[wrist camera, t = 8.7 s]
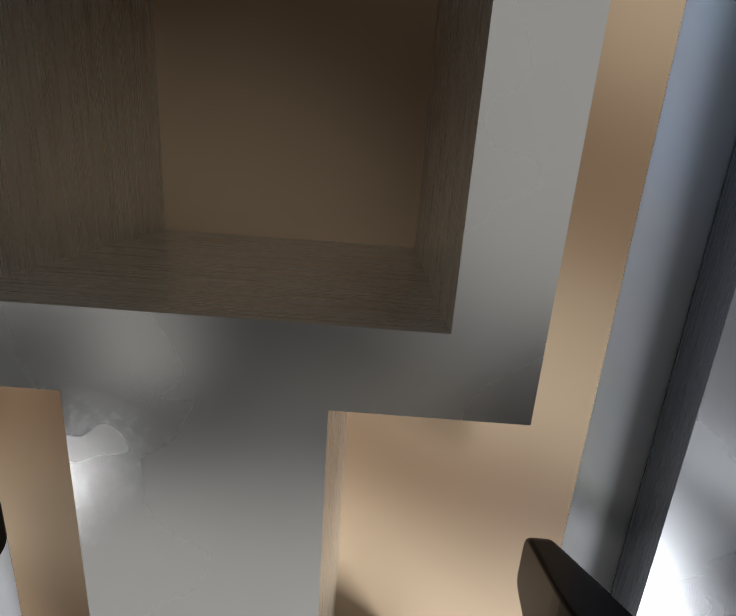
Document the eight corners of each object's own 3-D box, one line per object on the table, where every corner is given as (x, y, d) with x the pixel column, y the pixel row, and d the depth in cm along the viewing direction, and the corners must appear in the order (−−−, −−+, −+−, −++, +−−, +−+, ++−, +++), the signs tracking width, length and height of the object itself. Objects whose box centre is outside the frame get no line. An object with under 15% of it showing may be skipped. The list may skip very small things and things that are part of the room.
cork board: (496, 742, 13) (505, 787, 12) (71, 709, 13) (47, 751, 12) (666, -56, 8) (706, -88, 7) (-58, -106, 8) (-120, -144, 7)
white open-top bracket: (397, 750, 12) (406, 1080, 8) (162, 731, 12) (38, 1049, 8) (505, -109, 7) (724, -595, 2) (90, -136, 7) (-411, -660, 2)
